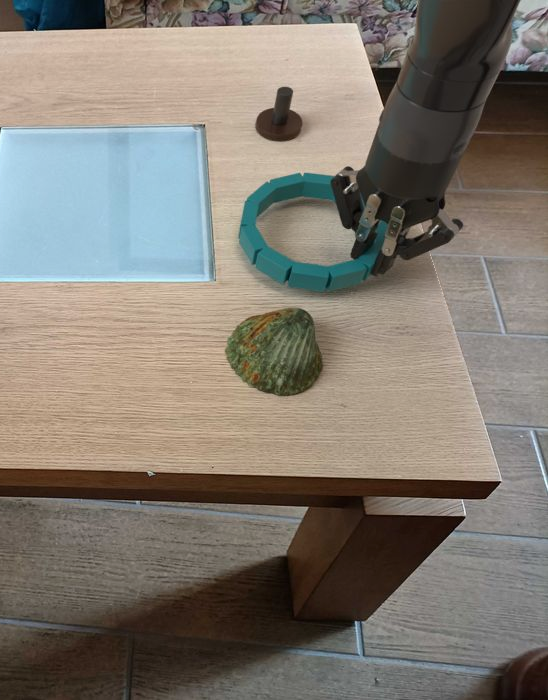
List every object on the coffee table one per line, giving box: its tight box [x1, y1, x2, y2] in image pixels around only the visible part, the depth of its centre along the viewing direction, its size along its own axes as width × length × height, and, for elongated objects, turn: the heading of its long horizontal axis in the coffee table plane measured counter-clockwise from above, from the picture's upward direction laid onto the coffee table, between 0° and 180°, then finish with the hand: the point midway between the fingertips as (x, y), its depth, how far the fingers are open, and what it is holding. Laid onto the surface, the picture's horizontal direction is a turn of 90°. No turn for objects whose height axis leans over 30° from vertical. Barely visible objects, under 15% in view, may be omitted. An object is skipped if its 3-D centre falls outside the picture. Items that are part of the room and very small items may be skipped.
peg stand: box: [255, 86, 303, 142], centre depth 88 cm, size 6×6×6 cm
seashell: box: [224, 307, 324, 397], centre depth 68 cm, size 10×4×10 cm
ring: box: [237, 172, 388, 293], centre depth 76 cm, size 16×16×2 cm
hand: (368, 265), depth 73 cm, fingers closed on ring
